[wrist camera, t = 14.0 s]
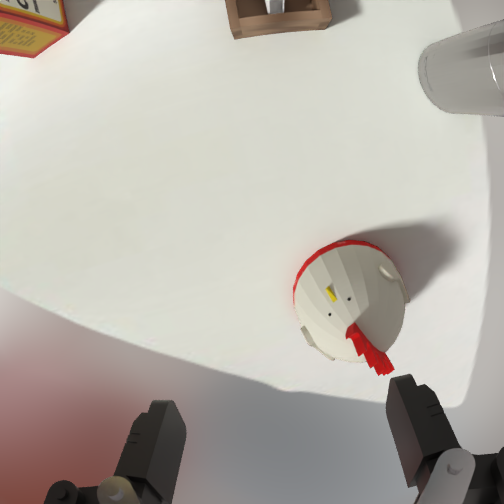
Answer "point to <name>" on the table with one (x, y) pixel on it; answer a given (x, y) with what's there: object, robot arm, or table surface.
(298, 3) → the trough
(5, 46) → the baking soda box
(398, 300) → the kitchen timer
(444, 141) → the table surface
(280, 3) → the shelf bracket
